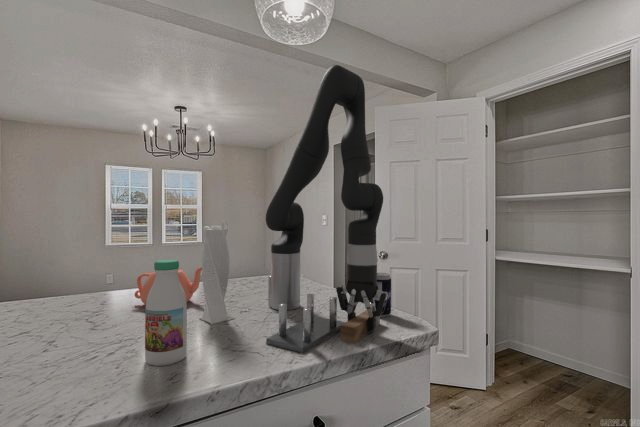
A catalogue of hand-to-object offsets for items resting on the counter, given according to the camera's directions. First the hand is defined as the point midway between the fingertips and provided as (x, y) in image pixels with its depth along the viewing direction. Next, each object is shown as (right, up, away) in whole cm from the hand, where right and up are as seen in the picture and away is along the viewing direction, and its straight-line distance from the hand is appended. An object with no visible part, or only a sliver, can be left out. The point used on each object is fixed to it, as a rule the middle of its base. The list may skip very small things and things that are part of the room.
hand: (361, 329), depth 86 cm
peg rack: (-13, 0, -3) cm, 13 cm away
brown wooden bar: (0, -1, 0) cm, 1 cm away
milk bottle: (-42, -1, -17) cm, 45 cm away
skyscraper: (-39, -1, +9) cm, 40 cm away
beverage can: (+7, -1, +14) cm, 16 cm away
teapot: (-59, 0, +26) cm, 65 cm away
